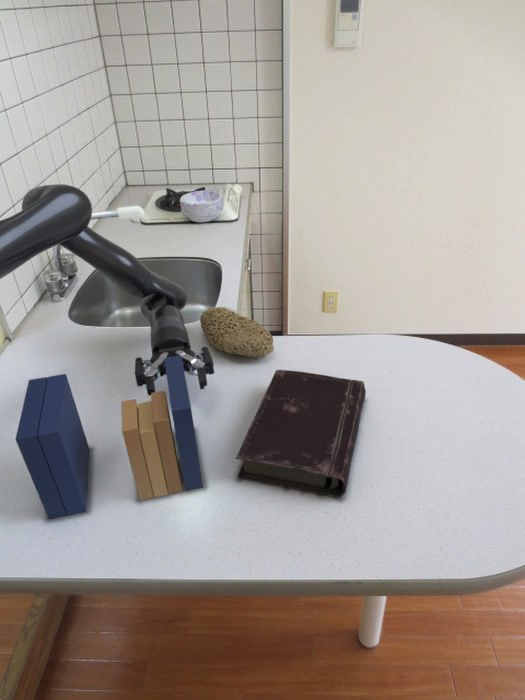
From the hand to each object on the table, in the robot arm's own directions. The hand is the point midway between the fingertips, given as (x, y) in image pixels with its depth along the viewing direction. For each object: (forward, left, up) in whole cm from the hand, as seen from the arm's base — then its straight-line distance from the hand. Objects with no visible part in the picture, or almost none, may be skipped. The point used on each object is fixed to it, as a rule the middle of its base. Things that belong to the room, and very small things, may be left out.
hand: (177, 389), depth 92 cm
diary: (+21, -8, -10) cm, 24 cm away
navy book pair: (-20, -8, -9) cm, 23 cm away
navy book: (0, -8, -9) cm, 12 cm away
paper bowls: (+19, +110, -10) cm, 112 cm away
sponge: (+15, +25, -10) cm, 31 cm away
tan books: (-5, -11, -9) cm, 16 cm away
